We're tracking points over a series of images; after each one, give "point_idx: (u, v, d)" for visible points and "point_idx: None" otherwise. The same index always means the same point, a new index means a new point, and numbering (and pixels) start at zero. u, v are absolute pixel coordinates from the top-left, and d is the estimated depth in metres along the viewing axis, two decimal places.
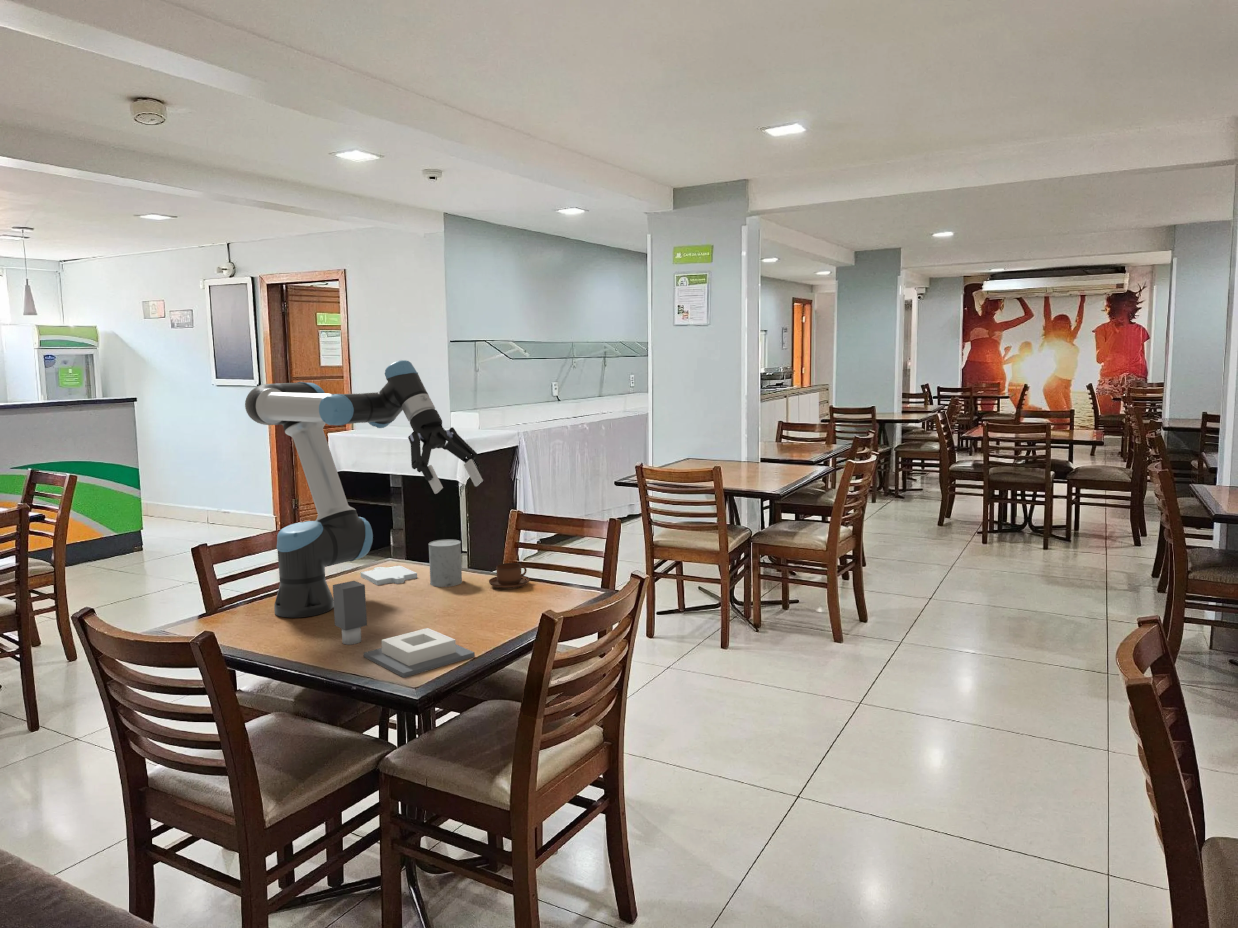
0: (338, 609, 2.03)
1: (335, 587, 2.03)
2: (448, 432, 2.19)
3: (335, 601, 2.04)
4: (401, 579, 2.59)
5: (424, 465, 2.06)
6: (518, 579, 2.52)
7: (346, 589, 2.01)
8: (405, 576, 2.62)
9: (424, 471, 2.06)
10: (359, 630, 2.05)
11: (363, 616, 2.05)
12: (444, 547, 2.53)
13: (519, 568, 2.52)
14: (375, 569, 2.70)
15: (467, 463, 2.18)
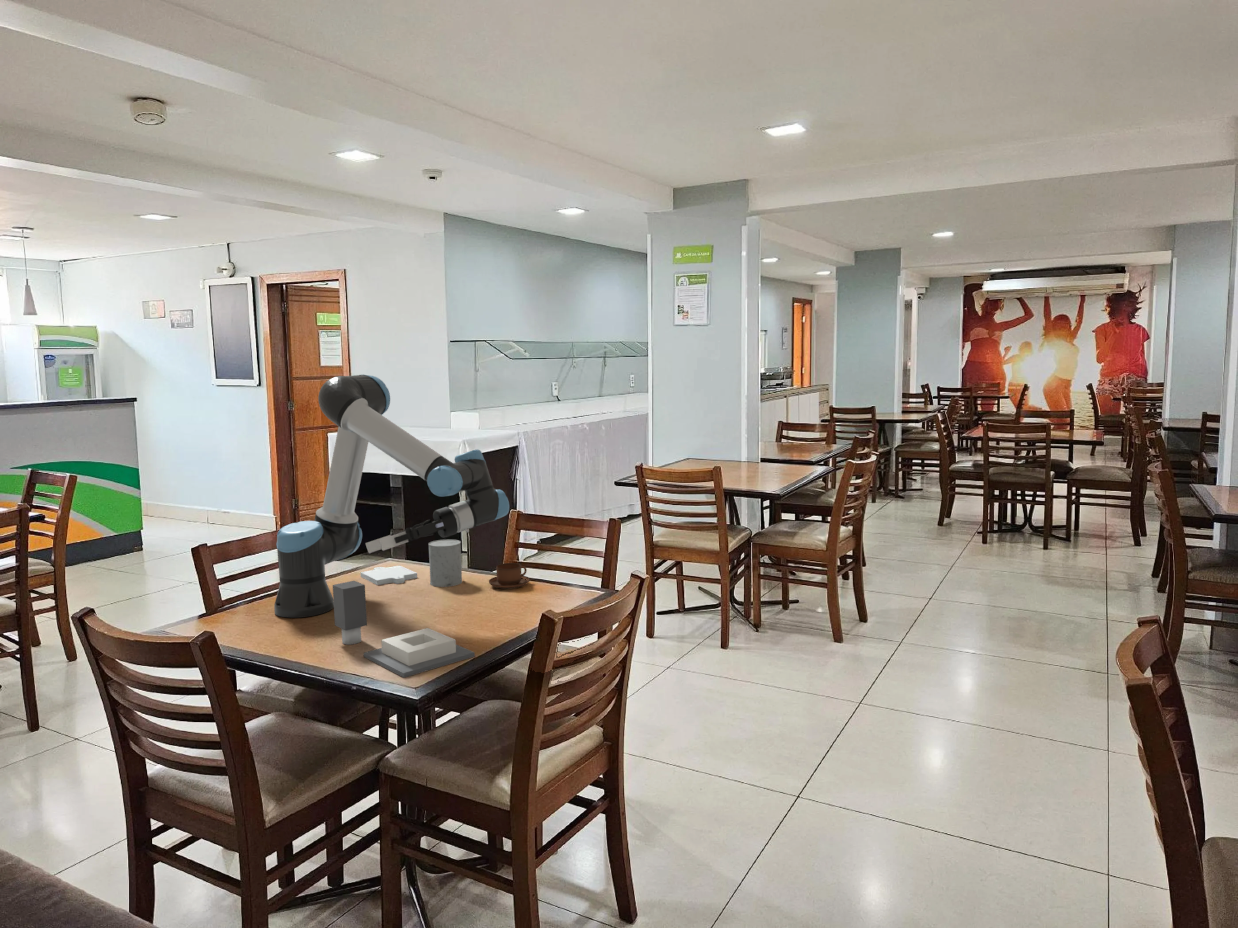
0: (338, 609, 2.03)
1: (335, 587, 2.03)
2: None
3: (335, 601, 2.04)
4: (401, 579, 2.59)
5: (410, 539, 2.08)
6: (518, 579, 2.52)
7: (346, 589, 2.01)
8: (405, 576, 2.62)
9: (405, 537, 2.07)
10: (359, 630, 2.05)
11: (363, 616, 2.05)
12: (444, 547, 2.53)
13: (519, 568, 2.52)
14: (375, 569, 2.70)
15: None
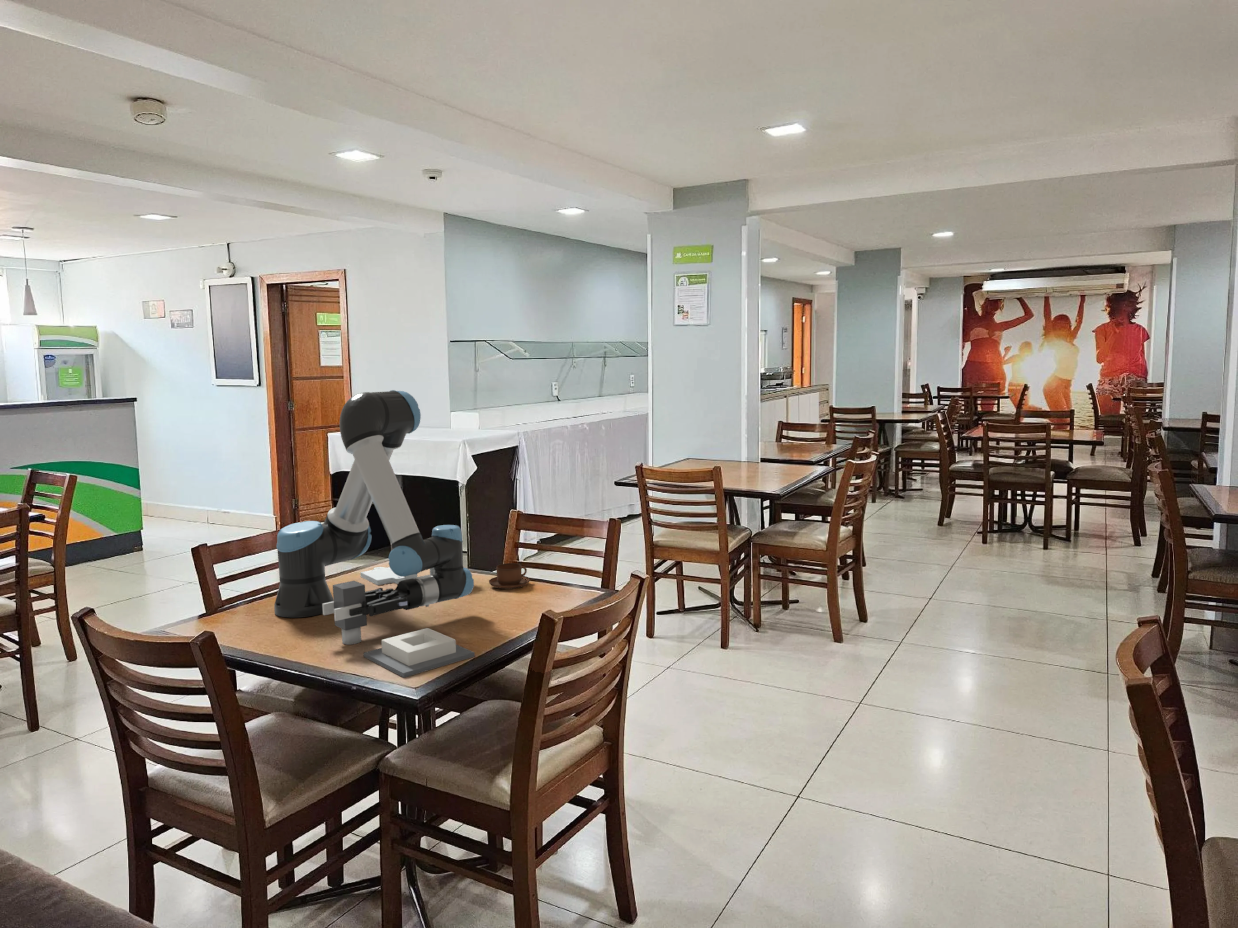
0: None
1: (335, 587, 2.03)
2: None
3: (335, 601, 2.04)
4: (401, 579, 2.59)
5: (365, 613, 2.03)
6: (518, 579, 2.52)
7: (346, 589, 2.01)
8: (405, 576, 2.62)
9: (360, 611, 2.02)
10: (359, 630, 2.05)
11: (363, 616, 2.05)
12: None
13: (519, 568, 2.52)
14: (375, 569, 2.70)
15: None
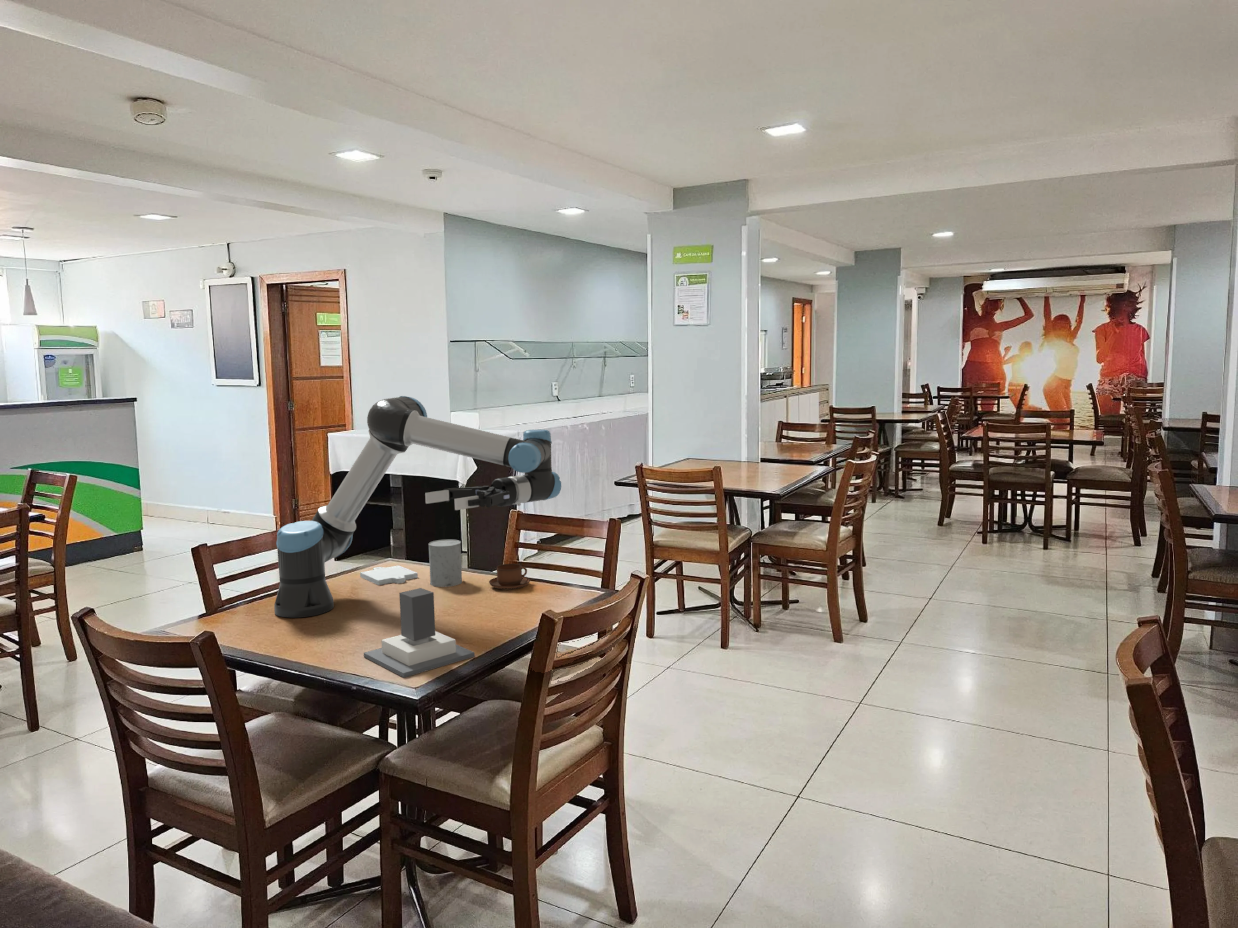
0: (405, 618, 1.92)
1: (402, 595, 1.92)
2: None
3: (402, 610, 1.93)
4: (402, 579, 2.59)
5: (482, 505, 2.12)
6: (518, 580, 2.51)
7: (415, 597, 1.90)
8: (406, 576, 2.63)
9: (478, 502, 2.11)
10: (427, 640, 1.94)
11: (432, 626, 1.93)
12: (444, 547, 2.53)
13: (519, 569, 2.51)
14: (374, 569, 2.70)
15: (447, 495, 2.22)
